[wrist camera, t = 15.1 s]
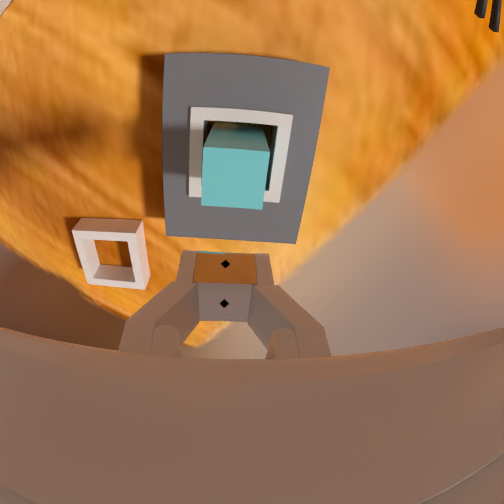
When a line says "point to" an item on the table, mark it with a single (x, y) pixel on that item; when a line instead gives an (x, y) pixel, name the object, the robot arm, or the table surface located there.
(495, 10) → the ramen bowl
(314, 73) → the socket block
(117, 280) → the white square frame
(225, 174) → the plug
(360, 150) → the table surface
